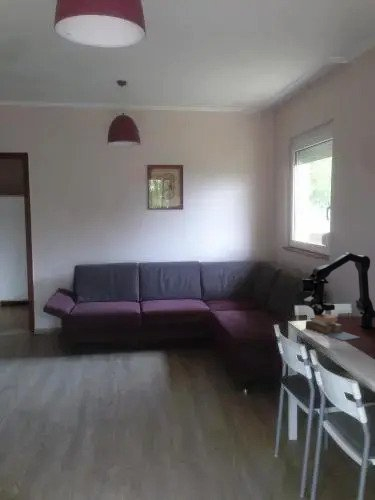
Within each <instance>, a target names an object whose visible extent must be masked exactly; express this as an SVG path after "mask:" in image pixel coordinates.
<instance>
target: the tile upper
mask: <svg viewBox="0 0 375 500" xmlns="http://www.w3.org/2000/svg"><path fill="white" fill-rule="evenodd" d="M314 318H315V319H317V320H320V321H323V322H333V321H336V322H337V321H338V316H334V315H332V314H331V315H328V314H325V313H322V314H320V315H314Z"/></svg>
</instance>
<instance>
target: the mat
mask: <svg viewBox="0 0 375 500" xmlns="http://www.w3.org/2000/svg"><path fill="white" fill-rule="evenodd" d="M325 336H327V337H330V338H333V339H335V340H338V341H341V342H345V341H349V340H350V341H351V340H357V339H360V338H361V337H360V336H357V335H355V334H351V333H349V332H345V331H342V332H337V333H331V334H326V335H325Z"/></svg>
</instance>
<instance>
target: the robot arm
mask: <svg viewBox="0 0 375 500" xmlns="http://www.w3.org/2000/svg"><path fill="white" fill-rule="evenodd" d="M350 261H351V262H353V263H354V266H355V269H356V270H357V273H358V274H357V275H358V276H357V277H358V289H359V292H358V293H359V298H358V299H356V300H355V304H356V307H355V308H357V311H359V314H360V315H361V321H360V324H359V325H358V326H359V327H360V328H361V327H362V328H365V329H368V330H369V329H374V328H375V309H374V305H373V302H372V300H371V298H370V291H369V290H370V289H369V274H368V273H369V270H370V267H371V258H370V257H369V256H367V255H362V254H353V253H351V252H344V253H343V254H342V255H340V256H338V257H337V258H335V259H333V260H331V261H330V262H328V263H326V264H325V265H320V266H317V267H315V268H314V269H313V270H312V273H311V274H310V275H309V277H308V278H301V279H300V281H299V284H298V289H299V291H300V292H303V293H304V292H309V293H311V294H310V296H308V297H306V298H303V300H301V301H302V302H301V304H302V305H304V306H307V307H309V308H311V310H312V311H314V312H313V315H314V314H315V315H320V314H324V313H325V310H326V311H329V310H331V311H335V310H336V307H335V304H332V303H330V302H328V303H326V300H325V296H327V293H325V289H326V288H325V285H326V284H329V281H328V280H327V279H326V278H327V277H329V276H330V275H331V273H332V272H333V271H335V270H336V269H338V268H340V267H341V266H343V265H345V264H346V263H349V262H350ZM315 315H314V316H315Z"/></svg>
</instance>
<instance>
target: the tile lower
mask: <svg viewBox="0 0 375 500" xmlns="http://www.w3.org/2000/svg"><path fill="white" fill-rule="evenodd" d="M312 320H313V322H314V323H317V324H321V325H324V326H326V325H333V324H336V323H337V321H333V322H323V321H320V320H317V319H315V317H314V318H313V319H312Z"/></svg>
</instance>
